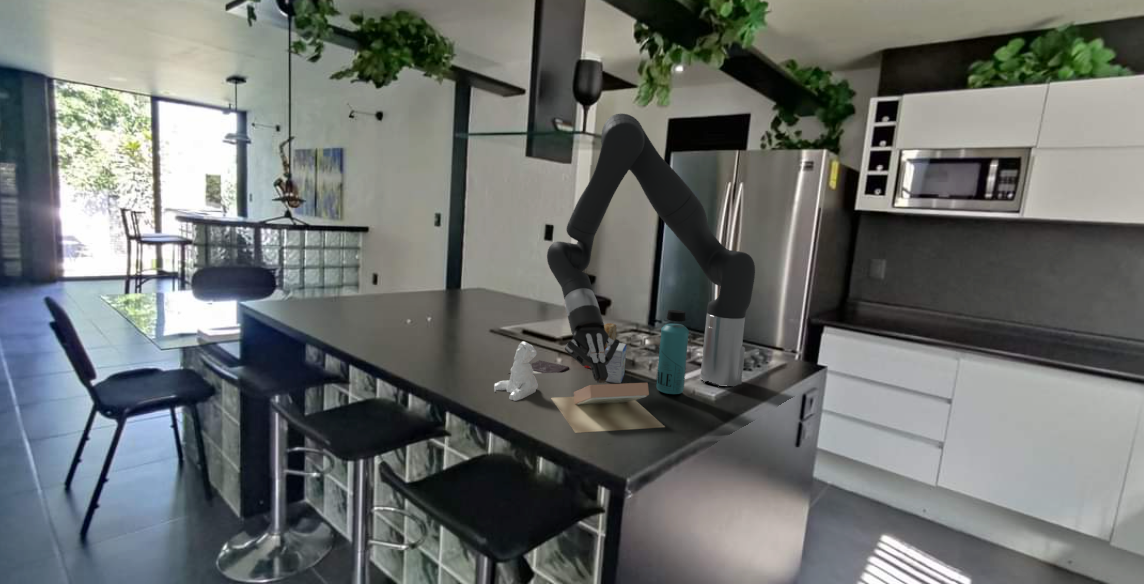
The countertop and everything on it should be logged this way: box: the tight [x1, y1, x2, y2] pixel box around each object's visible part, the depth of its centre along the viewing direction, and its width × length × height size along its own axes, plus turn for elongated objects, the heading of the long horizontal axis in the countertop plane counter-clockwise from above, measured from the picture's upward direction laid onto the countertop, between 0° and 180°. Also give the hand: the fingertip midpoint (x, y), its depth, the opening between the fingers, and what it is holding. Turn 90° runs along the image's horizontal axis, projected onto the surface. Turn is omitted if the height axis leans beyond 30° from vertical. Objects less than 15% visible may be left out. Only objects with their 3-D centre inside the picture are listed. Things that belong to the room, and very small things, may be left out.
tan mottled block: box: [604, 322, 617, 356], centre depth 149 cm, size 10×4×10 cm, turn 162°
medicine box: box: [604, 342, 627, 384], centre depth 129 cm, size 8×4×9 cm, turn 168°
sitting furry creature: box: [493, 340, 539, 402], centre depth 115 cm, size 10×9×12 cm
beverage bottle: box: [655, 309, 690, 395], centre depth 120 cm, size 6×7×20 cm
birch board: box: [550, 396, 666, 434], centre depth 107 cm, size 18×18×1 cm
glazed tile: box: [573, 382, 650, 405], centre depth 107 cm, size 12×3×11 cm
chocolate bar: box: [508, 359, 570, 375], centre depth 132 cm, size 9×1×18 cm
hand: (602, 381), depth 112 cm, fingers closed
